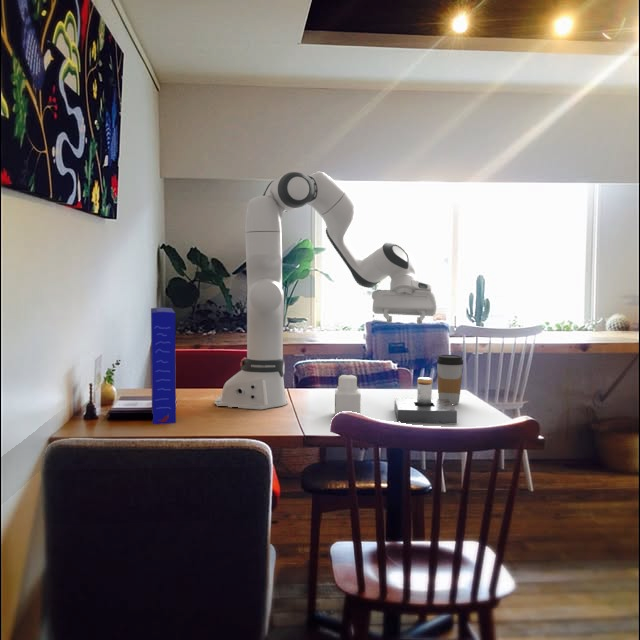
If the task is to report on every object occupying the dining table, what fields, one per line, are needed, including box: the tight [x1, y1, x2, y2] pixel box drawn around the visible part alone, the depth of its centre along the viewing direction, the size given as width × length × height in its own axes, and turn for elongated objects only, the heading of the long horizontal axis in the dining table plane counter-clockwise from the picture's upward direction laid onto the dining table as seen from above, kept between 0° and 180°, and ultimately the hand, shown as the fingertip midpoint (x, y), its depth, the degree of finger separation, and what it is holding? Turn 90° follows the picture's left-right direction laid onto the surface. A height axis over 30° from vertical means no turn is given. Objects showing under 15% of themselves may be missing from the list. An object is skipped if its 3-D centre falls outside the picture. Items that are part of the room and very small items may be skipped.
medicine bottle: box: [334, 373, 362, 415], centre depth 174 cm, size 7×7×12 cm
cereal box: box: [150, 307, 177, 425], centre depth 172 cm, size 22×6×30 cm, turn 16°
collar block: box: [393, 397, 458, 424], centre depth 175 cm, size 16×16×4 cm
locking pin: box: [416, 376, 433, 407], centre depth 175 cm, size 4×4×11 cm
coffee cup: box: [436, 354, 464, 405], centre depth 194 cm, size 8×8×15 cm
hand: (404, 322), depth 191 cm, fingers open, 8 cm apart
